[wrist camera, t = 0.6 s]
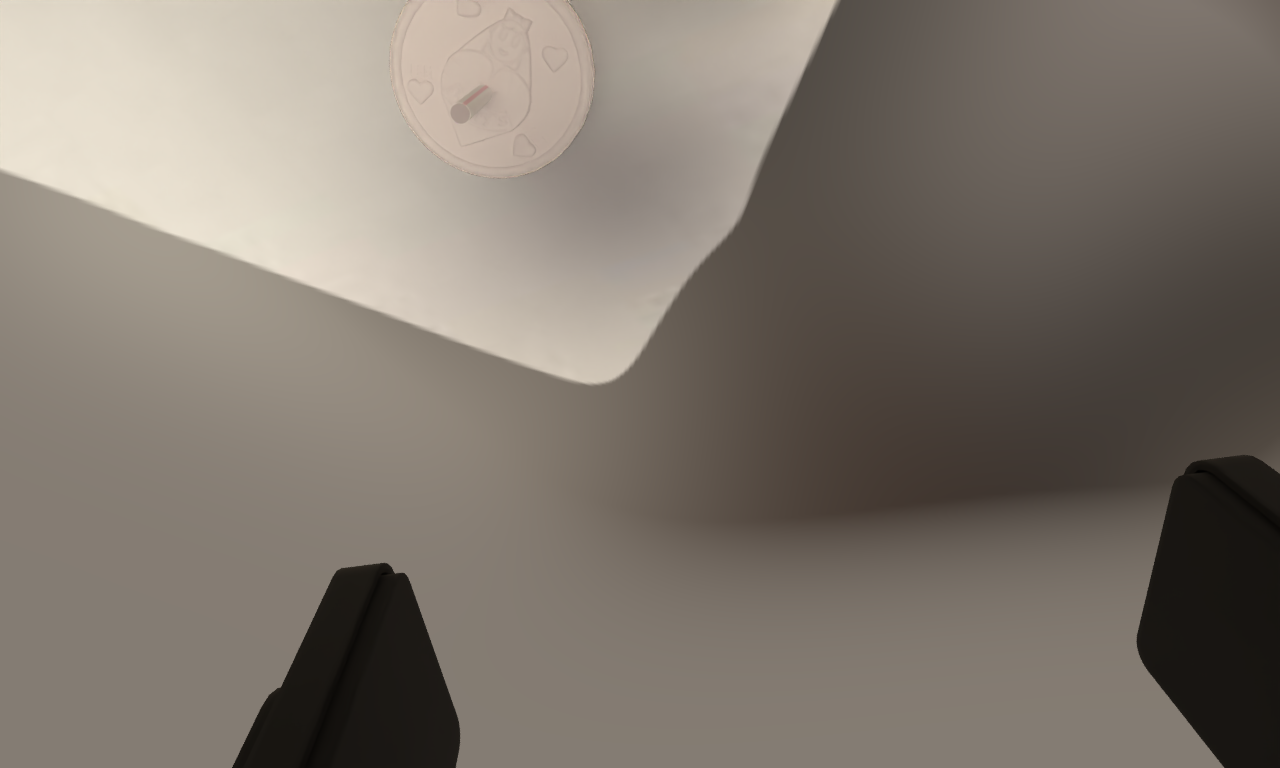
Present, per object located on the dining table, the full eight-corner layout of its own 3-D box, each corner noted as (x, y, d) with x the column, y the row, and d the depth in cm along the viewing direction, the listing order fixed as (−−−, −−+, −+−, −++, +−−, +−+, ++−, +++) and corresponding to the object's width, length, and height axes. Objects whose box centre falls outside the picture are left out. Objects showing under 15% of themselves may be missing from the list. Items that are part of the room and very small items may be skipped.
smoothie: (422, 84, 33) (308, 142, 20) (484, -67, 30) (397, -105, 18) (556, 158, 34) (526, 255, 22) (625, 21, 32) (636, 43, 20)
